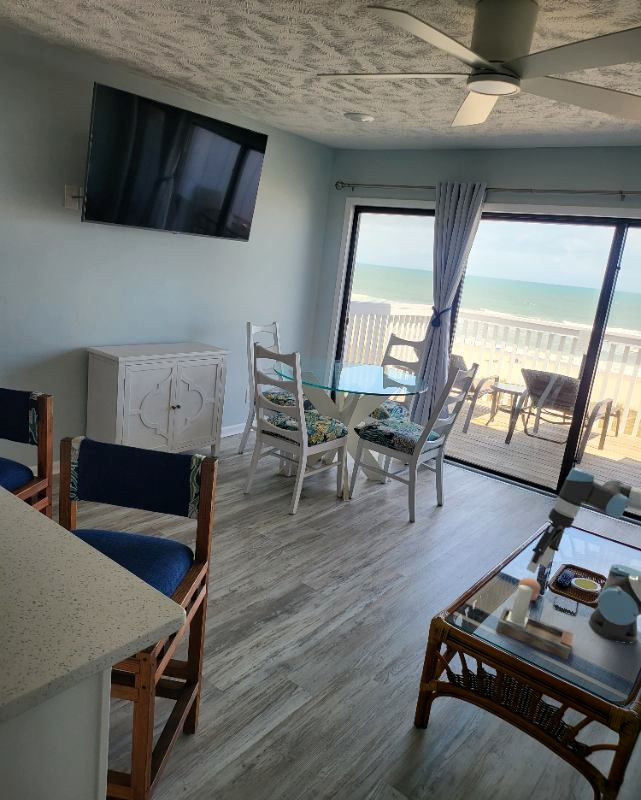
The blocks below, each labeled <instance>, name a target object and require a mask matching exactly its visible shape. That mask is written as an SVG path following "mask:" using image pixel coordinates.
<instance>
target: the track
mask: <svg viewBox="0 0 641 800" xmlns="http://www.w3.org/2000/svg"><path fill="white" fill-rule="evenodd" d="M510 611H511V612H512V609H511V608H508V607H504V608H503V611H502V612H501V615H500V617H499V620H498V622H497V625H496V631H497V632H499V633H501V634H504V635H506V636H508V637H511V638H514V639H516V640H519V641H521V642H524V643H526V644H529V645H531V646H533V647H535V648H538V649H541V650H543V651H546V652H548V653H551V654H553V655H556V656H557V657H561V658H564V659H566V660H568V659H569V655H570V653H571V648H572V643H573V639H574V638H573V637H574V632H573V633H572V632H570V631H567V630H565V629H562V628H559V627H557V626H555V625H552V624H549V623H547V622H544V621H542V620H539V619H536V618H534V617H532V616H529V615H526V617H527V618H528V621H527V624H526V627H525V629H524V628H521V627H519V626H516V625H514V624H511V623H509V622H506V619H507V617H508V615H509V612H510Z"/></svg>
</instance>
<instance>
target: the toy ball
mask: <svg viewBox="0 0 641 800" xmlns="http://www.w3.org/2000/svg"><path fill="white" fill-rule="evenodd" d="M519 585H525V586H528V587H530V588H531V589H532V590H533V591H532V595H531V599H530V601H534V600H537V599H538V597H539V595H540V591H541V590H542V589H541V585H540V583H539V582H538V581H537V580H536V579H534V578H532V577H525V578H522V579H521V580H520V581H519V582H518V584H517V588H518V587H519Z"/></svg>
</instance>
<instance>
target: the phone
mask: <svg viewBox="0 0 641 800" xmlns="http://www.w3.org/2000/svg"><path fill="white" fill-rule="evenodd" d="M554 603H555V602H554V601H553V606H554V607H555V608H556V609H559V610H561V611H560V612H562V611H563V612H567V613H570V614H573V615H575V614H576V615H577V611H576V612H575V613H574V612H573V611H572V612H571V611H570V610H567V609H565V608H564V609H563V608H561V607H559V606H558V605H555V604H554ZM553 606H552V607H553ZM556 609H555V610H556ZM559 610H558V611H559ZM567 613H566V614H567ZM570 614H569V615H570ZM573 615H572V616H573ZM576 615H575V616H576Z"/></svg>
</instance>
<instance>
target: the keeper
mask: <svg viewBox="0 0 641 800" xmlns="http://www.w3.org/2000/svg"><path fill="white" fill-rule="evenodd" d="M532 591H533V590H532V589H531V588H530V587H528V586H525V585H519V587H518V586H517V590H516V594H515V598H514V603H513V606H512V609H511V610H512V612H511V611H510V612H509V615H508V617H507V619H506V622H509V623H511V624H514V625H516V626H519V627H521V628H524V629H525V627H526V624H527V621H528V618H527V617H526V616H527V612H528V609H529V605H530V603H531V600H530V599H531V595H532Z"/></svg>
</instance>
